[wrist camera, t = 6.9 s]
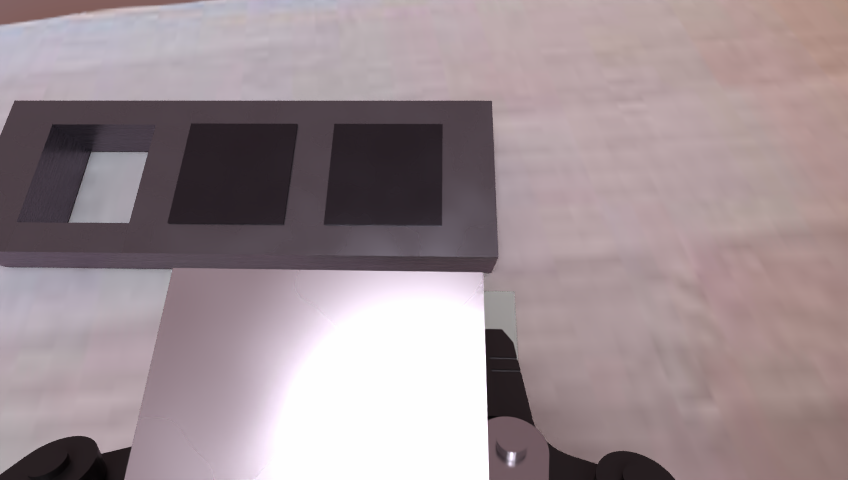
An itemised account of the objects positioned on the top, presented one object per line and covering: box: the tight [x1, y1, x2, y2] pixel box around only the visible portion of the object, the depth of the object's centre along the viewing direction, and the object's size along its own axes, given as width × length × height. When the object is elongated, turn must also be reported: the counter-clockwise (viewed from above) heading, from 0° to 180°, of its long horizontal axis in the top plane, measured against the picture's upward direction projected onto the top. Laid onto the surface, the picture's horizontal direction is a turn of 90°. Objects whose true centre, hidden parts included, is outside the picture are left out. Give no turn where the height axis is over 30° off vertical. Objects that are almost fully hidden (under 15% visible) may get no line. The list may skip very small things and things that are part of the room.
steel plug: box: [124, 268, 489, 480], centre depth 11 cm, size 4×4×13 cm
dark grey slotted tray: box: [0, 101, 498, 273], centre depth 21 cm, size 24×8×3 cm, turn 89°
